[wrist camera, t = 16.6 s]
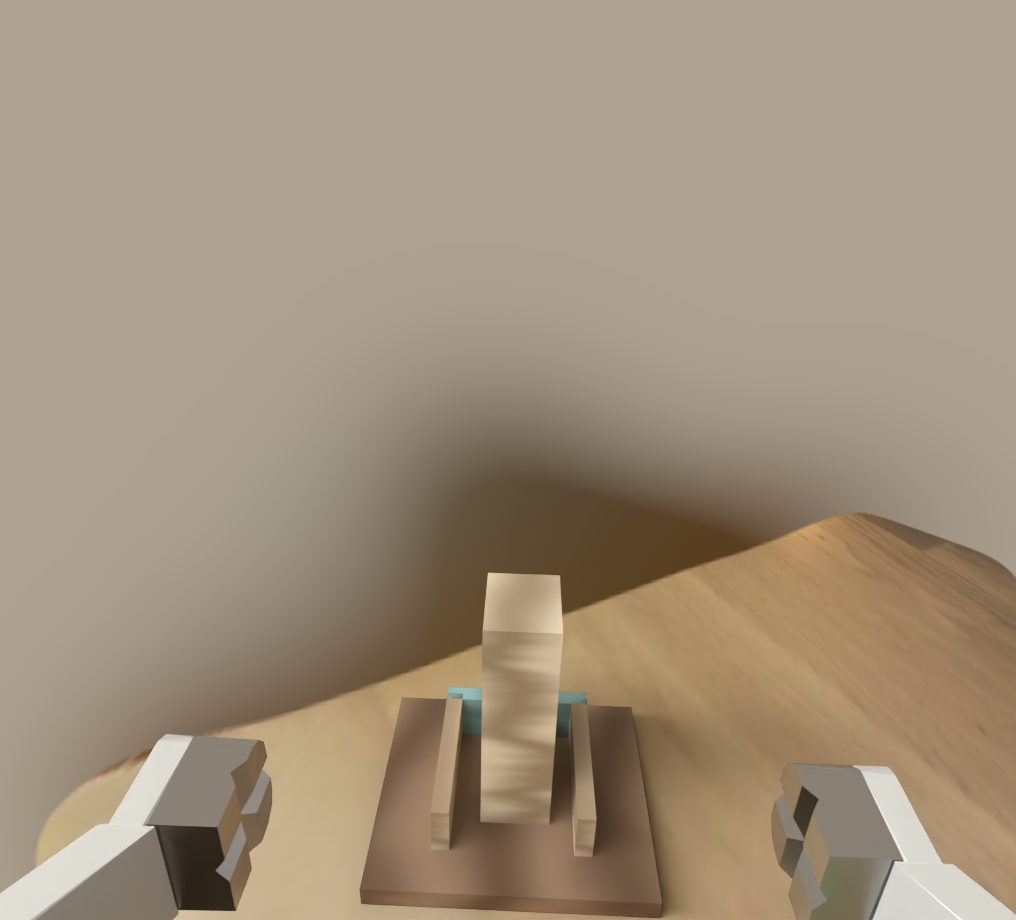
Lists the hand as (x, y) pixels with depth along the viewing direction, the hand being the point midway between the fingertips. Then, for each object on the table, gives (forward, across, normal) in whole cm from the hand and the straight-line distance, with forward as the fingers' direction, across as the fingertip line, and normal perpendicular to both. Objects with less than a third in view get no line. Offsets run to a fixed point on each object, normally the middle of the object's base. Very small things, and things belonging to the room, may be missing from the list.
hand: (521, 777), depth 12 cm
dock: (+24, 0, +30) cm, 38 cm away
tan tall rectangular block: (+24, 0, +28) cm, 37 cm away
